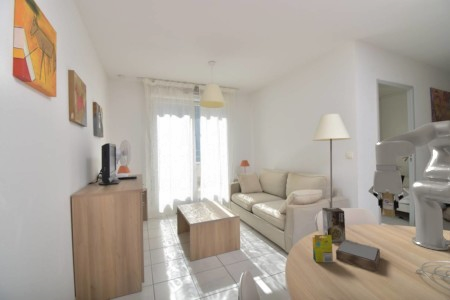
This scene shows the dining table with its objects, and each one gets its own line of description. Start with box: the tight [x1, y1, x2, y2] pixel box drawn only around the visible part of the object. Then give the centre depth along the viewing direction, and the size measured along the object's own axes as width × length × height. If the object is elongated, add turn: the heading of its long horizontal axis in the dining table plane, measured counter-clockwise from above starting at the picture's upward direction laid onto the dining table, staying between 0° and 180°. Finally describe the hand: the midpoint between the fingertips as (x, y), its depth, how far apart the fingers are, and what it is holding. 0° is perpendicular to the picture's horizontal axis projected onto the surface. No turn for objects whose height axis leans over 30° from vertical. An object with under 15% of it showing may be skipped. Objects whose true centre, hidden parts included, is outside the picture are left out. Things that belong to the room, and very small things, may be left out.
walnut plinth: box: [335, 239, 381, 272], centre depth 86 cm, size 14×14×4 cm
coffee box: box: [321, 207, 347, 243], centre depth 106 cm, size 9×6×16 cm
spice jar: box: [381, 189, 396, 218], centre depth 90 cm, size 5×5×13 cm
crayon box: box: [312, 234, 334, 264], centre depth 85 cm, size 7×3×12 cm, turn 86°
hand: (388, 208), depth 90 cm, fingers closed on spice jar, 4 cm apart
